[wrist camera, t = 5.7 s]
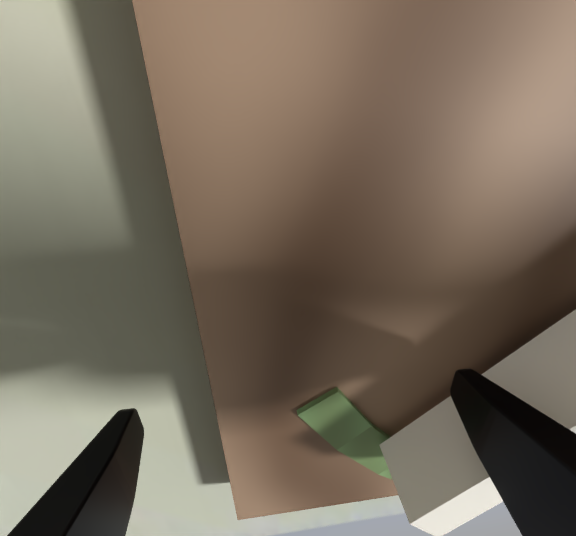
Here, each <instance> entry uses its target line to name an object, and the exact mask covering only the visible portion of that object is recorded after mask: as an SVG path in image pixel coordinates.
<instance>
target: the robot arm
mask: <svg viewBox="0 0 576 536" xmlns="http://www.w3.org/2000/svg"><path fill="white" fill-rule="evenodd" d="M450 394H451V398H452V400H453V402H454V405H455V407H456V409H457V411H458V414H459V416H460V418H461V421H462V423H463V425H464V427H465V430H466V432H467V434H468V436H469V439H470V441H471V443H472V445H473V447H474V449H475V451H476V453H477V455H478V457H479V459H480V461H481V462H482V464H483V466H484V468H485V469H486V471H487V473H488V475H489V477H490V478H491V480H492V482H493V484H494V486H495V487H496V489H497V491H498V493H499V495H500V496H501V498H502V500H503V502H504V503H505V505H506V507H507V509H508V511H509V512H510V514H511V516H512V518H513V519H514V521H515V523H516V525H517V527H518V528H519V530H520V532H521V534H522V536H576V433H574V432H573V431H571V430H569V429H568V428H566V427H565V426H563V425H561V424H560V423H558V422H557V421H555V420H553V419H552V418H550V417H548V416H547V415H545V414H544V413H542V412H540V411H539V410H537V409H536V408H534V407H532V406H531V405H529V404H528V403H526V402H524V401H523V400H521V399H520V398H518V397H516V396H515V395H513V394H512V393H510V392H508V391H507V390H505V389H504V388H502V387H500V386H499V385H497V384H496V383H494V382H492V381H491V380H489V379H487V378H486V377H484V376H483V375H481V374H479V373H478V372H476V371H475V370H473V369H470V368H467V369H459V370H457V371H456V372H455V374H454V377H453V381H452V384H451V388H450ZM143 438H144V428H143V425H142V422H141V420H140V417H139V414H138V412H137V410H136V409H135V408H131V409H123V410H120V411H118V412H117V413H116V414H115V415H114V416H113V417H112V418H111V420H110V421H109V422H108V423H107V424H106V425H105V426H104V427H103V429H102V430H101V431H100V432H99V433H98V434H97V435H96V436H95V438H94V439H93V440H92V441H91V442H90V443H89V444H88V445H87V447H86V448H85V449H84V450H83V451H82V452H81V453H80V454H79V456H78V457H77V458H76V459H75V460H74V461H73V462H72V463H71V465H70V466H69V467H68V468H67V469H66V470H65V471H64V472H63V474H62V475H61V476H60V477H59V478H58V479H57V480H56V481H55V483H54V484H53V485H52V486H51V487H50V488H49V489H48V490H47V492H46V493H45V494H44V495H43V496H42V497H41V498H40V499H39V501H38V502H37V503H36V504H35V505H34V506H33V507H32V508H31V510H30V511H29V512H28V513H27V514H26V515H25V516H24V517H23V519H22V520H21V521H20V522H19V523H18V524H17V525H16V526H15V528H14V529H13V530H12V531H11V532H10V533H9V534H8V535H7V536H125V535H126V531H127V527H128V523H129V519H130V515H131V511H132V507H133V502H134V498H135V492H136V486H137V479H138V473H139V466H140V459H141V452H142V445H143Z"/></svg>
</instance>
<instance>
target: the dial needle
mask: <svg viewBox="0 0 576 536" xmlns="http://www.w3.org/2000/svg"><path fill="white" fill-rule="evenodd" d="M481 375H483V376H484V377H486V378H487V379H489V380H491V381H492V382H494V383H496V384H497V385H499V386H500V387H502V388H504V389H505V390H507V391H508V392H510V393H512V394H513V395H515V396H516V397H518V398H520V399H521V400H523V401H524V402H526V403H528V404H529V405H531V406H532V407H534V408H536V409H537V410H539V411H540V412H542V413H544V414H545V415H547V416H548V417H550V418H552V419H553V420H555V421H557V422H558V423H560V424H561V425H563V426H565V427H566V428H568V429H569V430H571V431H573V432H574V433H576V309H575V310H574V311H573V312H571V313H570V314H568V315H567V316H565V317H564V318H562V319H561V320H560V321H558V322H557V323H555V324H554V325H552V326H551V327H549V328H548V329H547V330H545V331H544V332H542V333H541V334H539V335H538V336H536V337H535V338H533V339H532V340H531V341H529V342H528V343H526V344H525V345H523V346H522V347H520V348H519V349H518V350H516V351H515V352H513V353H512V354H510V355H509V356H507V357H506V358H505V359H503V360H502V361H500V362H499V363H497V364H496V365H494V366H493V367H491V368H490V369H489V370H487V371H486V372H484V373H483V374H481ZM379 446H380V448H381V451H382V453H383V456H384V459H385V461H386V464H387V466H388V469H389V472H390V474H391V477H392V479H393V482H394V484H395V487H396V490H397V492H398V495H399V497H400V500H401V503H402V505H403V508H404V510H405V513H406V515H407V518H408V520H409V523H410V524H411V525H413V526H415V527H417V528H419V529H421V530H423V531H425V532H427V533H429V534H431V535H433V536H443V535H444V534H446V533H448V532H450V531H452V530H453V529H455V528H457V527H459V526H460V525H462V524H464V523H466V522H467V521H469V520H471V519H473V518H475V517H476V516H478V515H480V514H482V513H483V512H485V511H487V510H489V509H491V508H492V507H494V506H496V505H497V504H499V503H501V502H503V500H502V498H501V496H500V495H499V493H498V491H497V489H496V487H495V486H494V484H493V482H492V480H491V478H490V477H489V475H488V473H487V471H486V469H485V468H484V466H483V464H482V462H481V461H480V459H479V457H478V455H477V453H476V451H475V449H474V447H473V445H472V443H471V441H470V439H469V436H468V434H467V432H466V430H465V427H464V425H463V423H462V421H461V418H460V416H459V414H458V411H457V409H456V407H455V405H454V402H453V400H452V398H451V396H449V397H448V398H447V399H445V400H444V401H442V402H441V403H439V404H438V405H436V406H435V407H434V408H432V409H431V410H429V411H428V412H426V413H425V414H423V415H422V416H421V417H419V418H418V419H416V420H415V421H413V422H412V423H410V424H409V425H407V426H406V427H405V428H403V429H402V430H400V431H399V432H397V433H396V434H394V435H393V436H392V437H390V438H389V439H387V440H386V441H384V442H383V443H381V444H380V445H379Z"/></svg>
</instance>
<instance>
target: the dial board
mask: <svg viewBox="0 0 576 536" xmlns="http://www.w3.org/2000/svg"><path fill="white" fill-rule="evenodd" d="M132 2H133V7H134V12H135V17H136V22H137V27H138V32H139V37H140V42H141V47H142V52H143V56H144V61H145V66H146V71H147V76H148V81H149V86H150V91H151V96H152V101H153V106H154V111H155V115H156V120H157V125H158V130H159V135H160V140H161V145H162V150H163V155H164V160H165V165H166V170H167V174H168V179H169V184H170V189H171V194H172V199H173V204H174V209H175V214H176V219H177V224H178V229H179V233H180V238H181V243H182V248H183V253H184V258H185V263H186V268H187V273H188V278H189V283H190V288H191V292H192V297H193V302H194V307H195V312H196V317H197V322H198V327H199V332H200V337H201V342H202V346H203V351H204V356H205V361H206V366H207V371H208V376H209V381H210V386H211V391H212V396H213V401H214V405H215V410H216V415H217V420H218V425H219V430H220V435H221V440H222V445H223V450H224V455H225V460H226V464H227V469H228V474H229V479H230V484H231V489H232V494H233V499H234V504H235V509H236V514H237V519H238V520H241V519H247V518H254V517H260V516H267V515H273V514H280V513H286V512H292V511H299V510H305V509H312V508H318V507H325V506H331V505H337V504H344V503H350V502H357V501H363V500H370V499H376V498H382V497H389V496H395V495H398V492H397V490H396V487H395V484H394V482H393V479H392V477H391V474H390V472H389V469H388V466H387V464H386V461H385V459H384V456H383V453H382V451H381V448H380V446H379V445H380V444H381V443H383V442H384V441H386V440H387V439H389V438H390V437H392V436H393V435H394V434H396V433H397V432H399V431H400V430H402V429H403V428H405V427H406V426H407V425H409V424H410V423H412V422H413V421H415V420H416V419H418V418H419V417H421V416H422V415H423V414H425V413H426V412H428V411H429V410H431V409H432V408H434V407H435V406H436V405H438V404H439V403H441V402H442V401H444V400H445V399H447V398H448V397H449V396H451V394H450V388H451V384H452V381H453V377H454V374H455V372H456V371H457V370H459V369H467V368H470V369H473V370H475V371H476V372H478V373H479V374H483V373H484V372H486V371H487V370H489V369H490V368H491V367H493V366H494V365H496V364H497V363H499V362H500V361H502V360H503V359H505V358H506V357H507V356H509V355H510V354H512V353H513V352H515V351H516V350H518V349H519V348H520V347H522V346H523V345H525V344H526V343H528V342H529V341H531V340H532V339H533V338H535V337H536V336H538V335H539V334H541V333H542V332H544V331H545V330H547V329H548V328H549V327H551V326H552V325H554V324H555V323H557V322H558V321H560V320H561V319H562V318H564V317H565V316H567V315H568V314H570V313H571V312H573V311H574V310H575V309H576V0H132Z"/></svg>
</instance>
